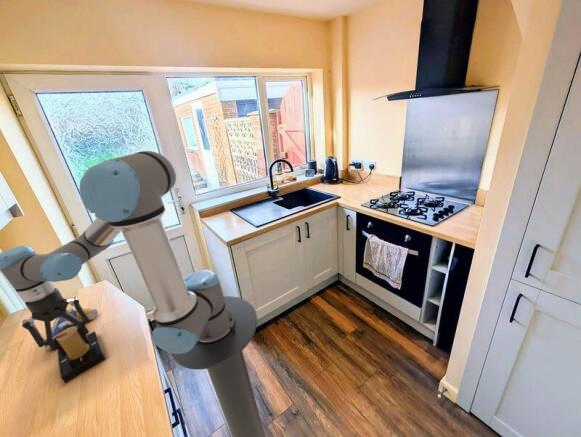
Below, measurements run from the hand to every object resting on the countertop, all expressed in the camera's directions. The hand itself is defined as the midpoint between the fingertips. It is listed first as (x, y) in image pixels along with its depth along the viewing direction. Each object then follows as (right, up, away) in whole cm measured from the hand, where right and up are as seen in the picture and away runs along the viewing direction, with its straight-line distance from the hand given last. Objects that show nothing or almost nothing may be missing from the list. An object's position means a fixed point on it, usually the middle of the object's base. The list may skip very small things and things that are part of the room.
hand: (76, 347), depth 83 cm
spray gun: (-14, -1, +16) cm, 21 cm away
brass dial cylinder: (0, -2, +1) cm, 2 cm away
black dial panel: (+1, -5, +2) cm, 5 cm away
